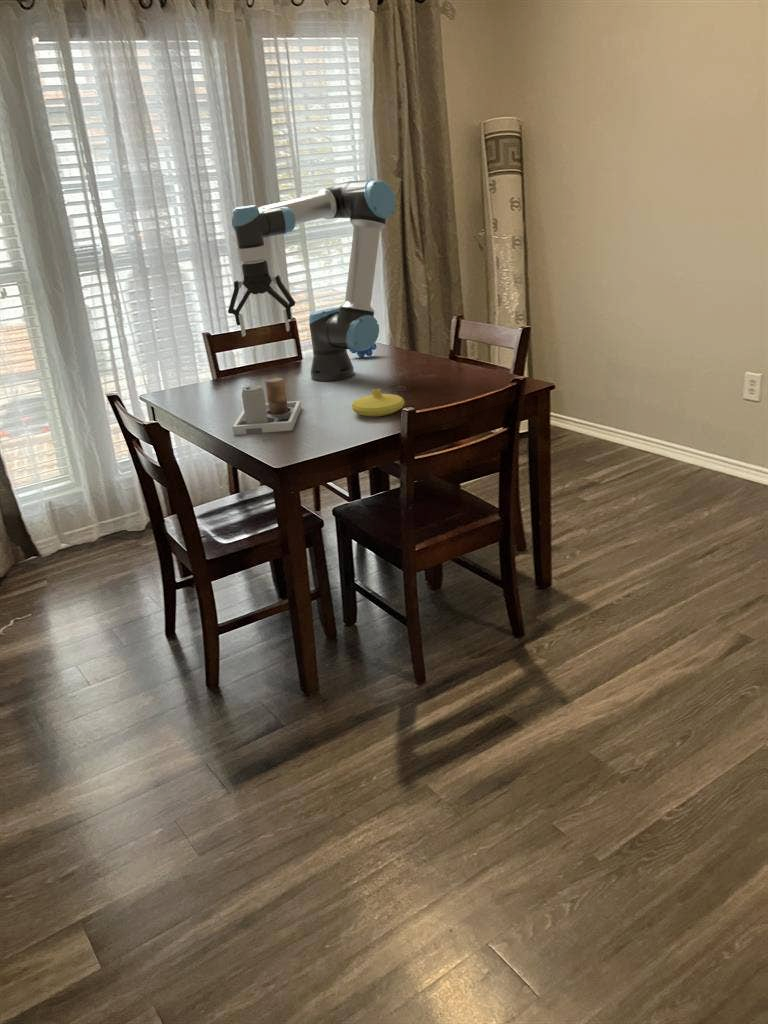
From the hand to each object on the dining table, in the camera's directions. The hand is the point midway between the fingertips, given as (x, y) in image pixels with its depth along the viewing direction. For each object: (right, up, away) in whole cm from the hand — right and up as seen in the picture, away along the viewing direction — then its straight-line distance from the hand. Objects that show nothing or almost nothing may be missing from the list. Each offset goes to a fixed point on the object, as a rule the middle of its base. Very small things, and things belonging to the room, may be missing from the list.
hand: (266, 333), depth 263 cm
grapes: (+28, +3, +61) cm, 67 cm away
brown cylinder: (+4, -25, -1) cm, 26 cm away
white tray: (+2, -28, -5) cm, 28 cm away
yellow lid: (+34, -25, -7) cm, 43 cm away
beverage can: (-1, -30, -10) cm, 31 cm away
